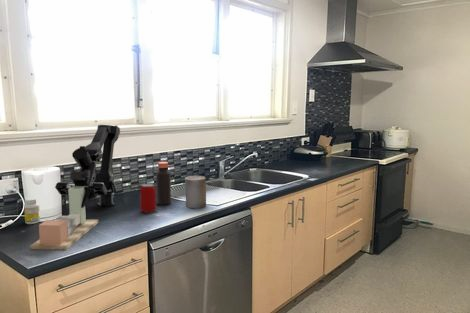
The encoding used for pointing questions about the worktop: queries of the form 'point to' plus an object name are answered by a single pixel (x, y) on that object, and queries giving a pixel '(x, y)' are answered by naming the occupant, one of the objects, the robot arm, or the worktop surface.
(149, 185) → the beverage can
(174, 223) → the worktop surface
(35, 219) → the supplement bottle
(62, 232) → the socket block
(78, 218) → the pale green slab
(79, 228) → the base board
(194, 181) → the pillar candle
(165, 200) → the vinegar
